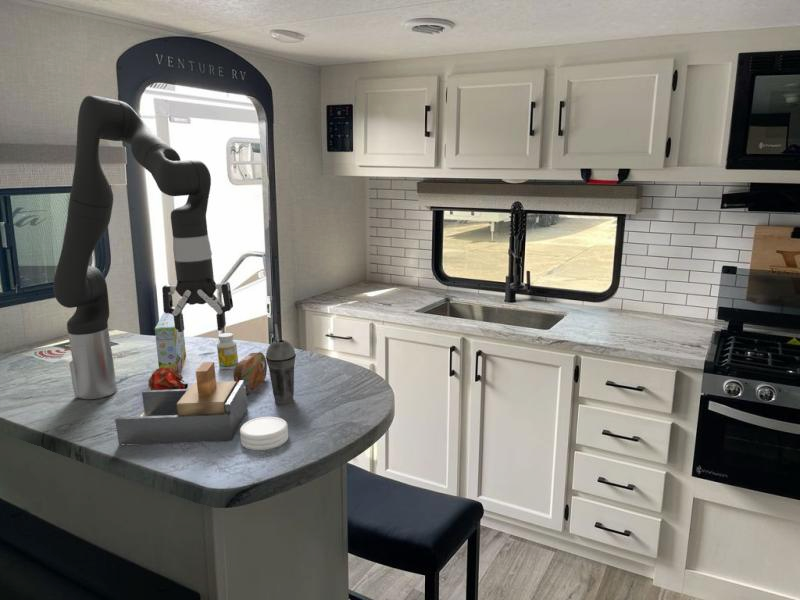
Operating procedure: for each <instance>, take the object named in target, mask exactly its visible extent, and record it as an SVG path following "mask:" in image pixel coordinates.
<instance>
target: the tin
mask: <svg viewBox="0 0 800 600" xmlns="http://www.w3.org/2000/svg"><path fill="white" fill-rule="evenodd" d="M267 367H268V364H267V360H266V355H264V353H263V352H261V351H259V352H251V353H249V354H248V355H247V356H245V357H244V358H243V359H241V360H240V361H238V364H237V365H236V367H235V368H233V369H234V370H233V381H236V383H237V384H238V382H239V381H240V380H244V387H246V395H247V394H249V395H250V394H252V393H253V392H254V391H255V390H256V389H257V388H258V387H259V386H260V385H262V384H263V383H264V381H265V380H266V378H267V369H268V368H267Z"/></svg>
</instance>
